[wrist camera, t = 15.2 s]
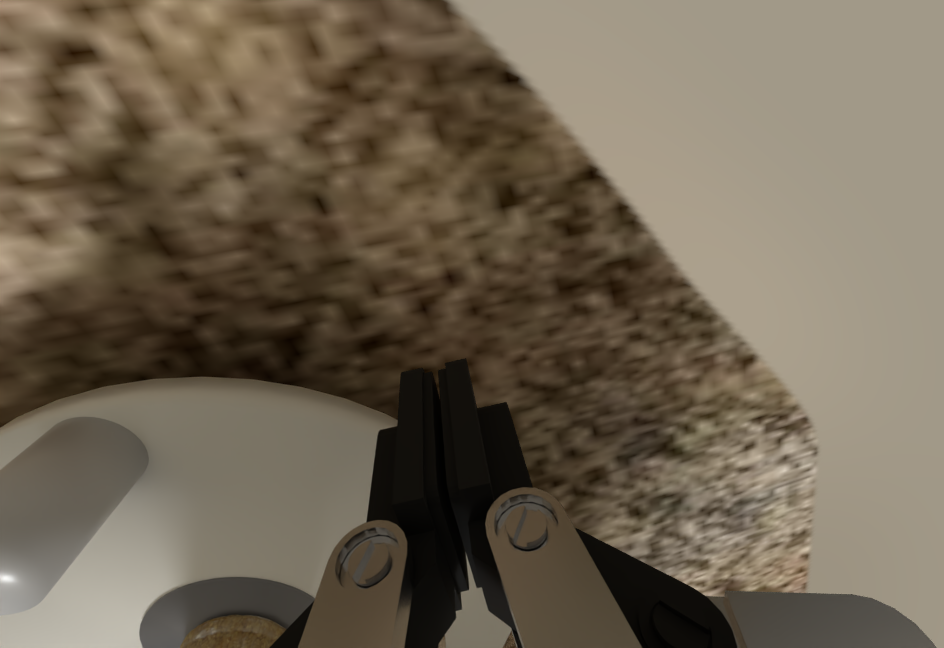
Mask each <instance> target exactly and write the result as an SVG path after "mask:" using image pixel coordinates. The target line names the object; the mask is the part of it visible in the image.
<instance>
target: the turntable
mask: <svg viewBox="0 0 944 648" xmlns="http://www.w3.org/2000/svg"><path fill="white" fill-rule="evenodd" d="M397 423H398V420H396V419H395V418H393V417H391V416H389V415H387V414H385V413H382V412H379V411H377V410H374V409H372V408H369V407H366V406H364V405H361V404H358V403H356V402H353V401H351V400H348V399H345V398H342V397H338V396H334V395H330V394H326V393H323V392H319V391H315V390H311V389H307V388H303V387H299V386H293V385H286V384H280V383H273V382H267V381H261V380H254V379H238V378H220V377H184V378H164V379H149V380H143V381H137V382H130V383H124V384H118V385H111V386H105V387H101V388H97V389H94V390H90V391H87V392H83V393H79V394H76V395H72V396H69V397H65V398H62V399H58V400H56V401H53V402H51V403H49V404H46V405H44V406H42V407H39V408H37V409H35V410H32V411H30V412H28V413H25V414H23V415H21V416H18V417H16V418H15V419H13V420H12V421H10V422H8V423H7V424H5V425H4V426H2V427H0V648H180V646H181V644H182V642H183V640H184V639H185V637H186V636H187V635H188V633H189V632H190V631H191V630H193V629H195V628H196V627H197V626H198V625H201V624H202V623H204V622H206V621H208V620H211V619H213V618H217V617H222V616H229V615H252V616H260V617H263V618H267V619H270V620H272V621H274V622H276V623H278V624H279V625H280V626H282V627H284V628H285V629H287V628H288V627H289V626H290V625H291V624H292V623H293V622H294V621H295V620H296V619H297V618H298V617H299V616H300V615H301V614H302V613H303V612H304V611H305V610H306V608H307V607H308V606H309V605H310V604H311V603H312V602H313V601H314V600H315V597H316V594H317V591H318V588H319V585H320V583H321V580H322V577H323V574H324V571H325V568H326V565H327V562H328V560H329V558H330V555H331V553H332V551H333V549H334V548H335V546H336V545H337V544H338V543H339V541H340V540H341V539H342V538H343V537H344V536H345V535H346V534H347V533H349V532H350V531H351V530H352V529H354V528H356V527H358V526H360V525H362V524H364V523H366V521H367V513H368V505H369V497H370V490H371V482H372V474H373V466H374V458H375V450H376V443H377V436H378V432H379V431H380V430H382V429H386V428H391V427H395V426H397ZM466 560H467V570H468V579H469V590H467V591H463V592H461V602H462V610H458V611H456V619H455V621H454V622H453V624H452V625H451V627H450V628H449V629H448V631H447V632H446V634H445V641H446V648H503V646H504V644H505V642H506V640H507V638H508V637H509V635H510V633H511V628H510V627H509V626H508V625H507V624H505V623H504V622H503V621H501V620H500V619H499V618H497V617H496V616H495V615H493V614H492V613H491V612H489V611H488V608H487V604H486V601H485V597H484V594H483V591H482V587H481V588H477V587H476V584H475V581H474V578H473V575H472V571H471V568H470V565H469V561H468V558H467V555H466Z"/></svg>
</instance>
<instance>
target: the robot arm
mask: <svg viewBox="0 0 944 648" xmlns="http://www.w3.org/2000/svg"><path fill="white" fill-rule="evenodd" d="M445 366H446V369H441V370H438V376H439V389H440V398H439V394H438V390H437V387H436V383H435V380H434V376H433V373H432V372H428V373H425V372H424V369H423V368H419V369H415V370H410V371H406V372H402V373H401V379H400V393H399V408H398V423H397V426H395V427H391V428H386V429H382V430H380V431H379V432H378V436H377V443H376V450H375V458H374V466H373V474H372V482H371V490H370V497H369V505H368V513H367V521H366V523H364V524H362V525H360V526H358V527H356V528H354V529H352V530H351V531H350V532H349V533H347V534H346V535H345V536H344V537H343V538H342V539H341V540H340V541H339V543H338V544H337V545H336V546H335V548H334V549H333V551H332V553H331V555H330V558H329V560H328V562H327V565H326V568H325V571H324V574H323V577H322V580H321V583H320V585H319V588H318V591H317V594H316V597H315V600H314V601H313V602H312V603H311V604H310V605H309V606H308V607H307V608H306V610H305V611H304V612H303V613H302V614H301V615H300V616H299V617H298V618H297V619H296V620H295V621H294V622H293V623H292V624H291V625H290V626H289V627H288V628H287V629H286V630H285V632H284V633H283V634H282V635H281V636H280V637H279V638H278V639H277V640H276V641H275V642H274V643H273V644H272V645H271V646H270V647H269V648H446V641H445V634H446V632H447V631H448V629H449V628H450V627H451V625H452V624H453V622H454V621H455V619H456V611H458V610H462V602H461V592H463V591H467V590H469V579H468V570H467V560H466V555H467V558H468V561H469V565H470V568H471V571H472V575H473V578H474V581H475V584H476V587H477V588H481V587H482V591H483V594H484V597H485V601H486V604H487V608H488V611H489V612H491V613H492V614H493V615H495V616H496V617H497V618H499V619H500V620H501V621H503V622H504V623H505V624H507V625H508V626H509V627H510V628H511V631H512V635H513V638H514V641H515V644H516V647H517V648H936V646H935V645H934V644H933V642H932V641H931V640H930V639H929V638H928V637H927V636H926V635H925V634H924V633H923V631H922V630H920V628H919V627H918V626H917V625H916V624H915V623H914V622H912V621H911V620H910V619H908V618H907V617H905V616H904V615H903V614H901V613H900V612H899V611H897V610H896V609H894V608H892V607H890V606H888V605H886V604H883V603H881V602H879V601H877V600H875V599H872V598H868V597H863V596H857V595H852V594H817V593H781V592H745V591H725V596H724V597H712V596H705V595H703V594H702V593H700V592H699V591H697V590H695V589H694V588H692V587H690V586H688V585H686V584H685V583H683V582H681V581H679V580H677V579H675V578H673V577H671V576H669V575H667V574H665V573H663V572H661V571H659V570H657V569H655V568H653V567H651V566H649V565H647V564H645V563H643V562H641V561H639V560H637V559H636V558H634V557H632V556H630V555H628V554H626V553H624V552H622V551H620V550H618V549H616V548H614V547H612V546H610V545H608V544H606V543H604V542H602V541H600V540H598V539H596V538H594V537H592V536H590V535H589V534H587V533H585V532H583V531H581V530H579V529H577V528H575V527H574V526H573V524H572V522H571V520H570V519H569V517H568V515H567V513H566V512H565V510H564V508H563V507H562V505H561V504H560V503H559V501H558V500H557V499H556V498H555V497H553V496H552V495H551V494H549V493H548V492H546V491H543V490H540V489H537V488H533V487H532V483H531V480H530V477H529V474H528V470H527V467H526V464H525V460H524V457H523V454H522V451H521V447H520V444H519V441H518V438H517V434H516V431H515V428H514V424H513V421H512V418H511V415H510V411H509V408H508V405H507V403H506V402H504V403H500V404H495V405H491V406H486V407H482V408H477V405H476V401H475V396H474V392H473V387H472V383H471V379H470V374H469V370H468V365H467V361H466V358H465V359H461V360H456V361H452V362H447V363H445Z"/></svg>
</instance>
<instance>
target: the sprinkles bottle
mask: <svg viewBox="0 0 944 648" xmlns="http://www.w3.org/2000/svg"><path fill="white" fill-rule="evenodd" d="M285 630H286V629H285V628H284V627H282V626H280V625H279V624H278V623H276V622H274V621H272V620H270V619H267V618H263V617H260V616H252V615H229V616H222V617H217V618H213V619H211V620H208V621H206V622H204V623H202V624H201V625H198V626H197V627H196V628H195V629H193V630H191V631H190V632H189V633H188V635H187V636H186V637H185V639H184V640H183V642H182V644H181V646H180V648H269V647H270V646H271V645H272V644H273V643H274V642H275V641H276V640H277V639H278V638H279V637H280V636H281V635H282V634H283V633H284V632H285Z"/></svg>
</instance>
